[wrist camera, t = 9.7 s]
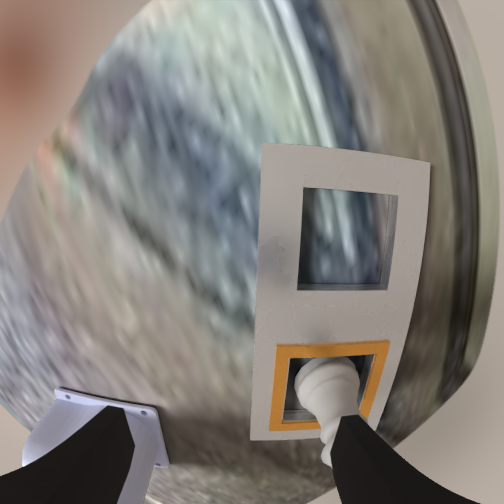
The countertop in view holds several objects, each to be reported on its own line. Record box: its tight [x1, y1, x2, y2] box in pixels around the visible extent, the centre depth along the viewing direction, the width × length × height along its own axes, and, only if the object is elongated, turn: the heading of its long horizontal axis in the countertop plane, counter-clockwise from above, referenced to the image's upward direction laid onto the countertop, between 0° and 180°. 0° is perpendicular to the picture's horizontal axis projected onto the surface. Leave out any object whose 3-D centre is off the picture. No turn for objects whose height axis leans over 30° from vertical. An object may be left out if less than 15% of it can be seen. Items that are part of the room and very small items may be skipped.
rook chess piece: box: [294, 356, 379, 469], centre depth 15 cm, size 4×4×8 cm
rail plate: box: [250, 143, 430, 440], centre depth 18 cm, size 10×20×1 cm, turn 178°
